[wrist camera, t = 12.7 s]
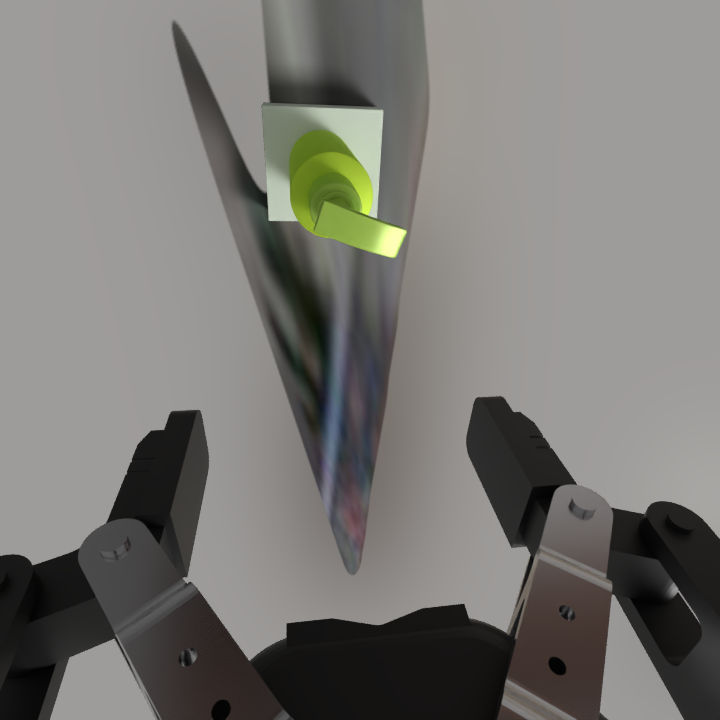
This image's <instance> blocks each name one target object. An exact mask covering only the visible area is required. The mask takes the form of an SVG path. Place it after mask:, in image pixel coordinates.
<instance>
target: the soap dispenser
mask: <svg viewBox="0 0 720 720" xmlns="http://www.w3.org/2000/svg"><path fill="white" fill-rule="evenodd" d="M289 173H290V202H291V207H292V210H293V212H294V214H295V216H296V218H297V220H298V221H299V222H300V224H301V225H302V226H303V227H304V228H305V229H307V230H308V231H310V232H311V233H313V234H315V235H317V236H320V237H325V238H332V239H334V240H337V241H340V242H343V243H345V244H348V245H351V246H354V247H357V248H360V249H363V250H366V251H369V252H372V253H376V254H379V255H383V256H387V257H391V258H395V257H396V256H397V253H398V251H399V249H400V247H401V244H402V242H403V240H404V238H405V235H406V233H407V230H405V229H403V228H402V227H400V226H397V225H394V224H391V223H388V222H385V221H382V220H379V219H376V218H374V217H371V216H368V215H369V213H370V210H371V207H372V202H373V188H372V183H371V180H370V178H369V175H368V173H367V172H366V170H365V169H364V167H363V166H362V165H361V163H360V162H359V161H358V160H357V158H356V157H355V156H354V154H353V153H352V152H351V150H350V149H349V148H348V146H347V145H346V144H345V142H344V141H343V140H342V139H341V138H340V137H339V136H337V135H336V134H334V133H332V132H329V131H325V130H314V131H310V132H308V133H306V134H304V135H303V136H301V137H300V138H299V139H298V140H297V142H296V143H295V144H294V146H293V148H292V150H291V154H290V159H289Z"/></svg>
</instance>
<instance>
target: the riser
mask: <svg viewBox="0 0 720 720" xmlns="http://www.w3.org/2000/svg"><path fill="white" fill-rule="evenodd" d="M262 118H263V134H264V150H265V166H266V181H267V197H268V213H269V221H298V220H297V218H296V216H295V214H294V212H293V210H292V207H291V202H290V173H289V159H290V154H291V150H292V148H293V146H294V144H295V143H296V142H297V140H298V139H299V138H300V137H301V136H303V135H304V134H306V133H308V132H310V131H314V130H325V131H329V132H332V133H334V134H336V135H337V136H339V137H340V138H341V139H342V140H343V141H344V142H345V144H346V145H347V146H348V148H349V149H350V150H351V152H352V153H353V154H354V156H355V157H356V158H357V160H358V161H359V162H360V163H361V165H362V166H363V167H364V169H365V170H366V172H367V173H368V175H369V178H370V180H371V183H372V188H373V202H372V207H371V210H370V213H369V215H368V216H371V217H374V218H376V219H377V206H378V190H379V173H380V157H381V140H382V124H383V110H382V109H380V108H377V107H364V106H339V105H313V104H287V103H263V104H262Z"/></svg>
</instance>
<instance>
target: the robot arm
mask: <svg viewBox="0 0 720 720" xmlns="http://www.w3.org/2000/svg"><path fill="white" fill-rule="evenodd" d="M466 438H467V439H466V444H467V451H468V455H469V457H470V459H471V462H472V464H473V466H474V468H475V470H476V472H477V474H478V477H479V479H480V481H481V483H482V485H483V488H484V489H485V492H486V494H487V496H488V498H489V500H490V503H491V505H492V507H493V509H494V511H495V513H496V515H497V518H498V520H499V522H500V524H501V526H502V528H503V530H504V533H505V535H506V537H507V539H508V541H509V543H510V545H511V547H512V548H515V547H526V546H527V548H528V550H529V552H530V557H529V560H528V563H527V566H526V569H525V573H524V576H523V580H522V583H521V587H520V590H519V594H518V597H517V601H516V604H515V608H514V611H513V615H512V618H511V621H510V624H509V627H508V630H507V633H505V632H504V631H502V630H500V629H498V628H496V627H495V626H492V625H490V624H487V623H485V622H482V621H478V620H475V619H470V618H469V617H468V615H467V611H466V608H465V605H464V604H458V605H449V606H440V607H432V608H423V609H420V610H417V611H415V612H412V613H410V614H408V615H405V616H403V617H400V618H398V619H395V620H393V621H390V622H388V623H386V624H383V625H371V624H365V623H358V622H352V621H345V620H339V619H323V620H313V621H304V622H295V623H287V638H285V639H283V640H280V641H278V642H276V643H274V644H272V645H270V646H269V647H267V648H265V649H264V650H263V651H261V652H260V653H258V654H257V655H256V656H255V657H254V658H252V659H251V660H250V661H249V660H248V658H247V657H246V656H245V654H244V653H243V652H242V650H241V649H240V647H239V646H238V645H237V643H236V642H235V641H234V639H233V638H232V636H231V635H230V633H229V632H228V631H227V629H226V628H225V626H224V625H223V624H222V622H221V621H220V619H219V618H218V617H217V615H216V614H215V612H214V611H213V610H212V608H211V607H210V605H209V604H208V603H207V601H206V600H205V598H204V597H203V596H202V594H201V593H200V591H199V590H198V589H197V587H195V585H194V584H193V583H191V582H189V583H188V584H187V583H186V582H185V581H184V580H183V577H187V575H188V571H189V566H190V560H191V555H192V550H193V545H194V540H195V535H196V530H197V525H198V520H199V515H200V510H201V505H202V500H203V495H204V490H205V485H206V480H207V475H208V468H209V455H208V447H207V441H206V436H205V431H204V425H203V419H202V414H201V411H200V410H189V411H188V410H186V411H172V412H171V413H170V415H169V418H168V421H167V424H166V426H165V430H155V431H150V433H148V435H147V436H146V437H145V438H144V439H143V440H142V441H141V442H140V443H139V444H138V445H137V448H136V450H135V453H134V455H133V458H132V462H131V463H130V465H129V468H128V470H127V475H125V478H124V481H123V483H122V485H121V488H120V490H119V493H118V496H117V498H116V501H115V503H114V506H113V508H112V510H111V513H110V516H109V518H108V520H107V522H106V524H104V525H102V526H100V527H99V528H97V529H96V530H94V531H93V532H92V533H91V534H90V535H89V536H88V537H87V538H86V539H85V540H84V542H83V544H82V545H81V547H80V548H79V549H78V550H75V551H73V552H71V553H68V554H65V555H62V556H59V557H57V558H54V559H51V560H48V561H45V562H42V563H39V564H36V565H32V564H31V562H30V561H29V560H28V559H27V558H26V557H24V556H21V555H14V554H12V555H3V556H0V720H50V717H51V714H52V711H53V707H54V704H55V701H56V698H57V695H58V692H59V688H60V685H61V682H62V679H63V676H64V672H65V669H66V666H67V663H68V660H69V657H71V656H74V655H76V654H78V653H81V652H83V651H85V650H88V649H91V648H93V647H95V646H98V645H100V644H102V643H105V642H107V641H109V640H112V639H115V641H116V643H117V645H118V647H119V649H120V651H121V653H122V655H123V657H124V658H125V661H126V663H127V664H128V666H129V668H130V670H131V672H132V674H133V676H134V678H135V680H136V682H137V684H138V686H139V688H140V690H141V692H142V693H143V696H144V698H145V699H146V701H147V703H148V705H149V707H150V709H151V712H152V714H153V716H154V718H155V720H608V719H607V718H605V717H604V716H603V715H602V714H601V713H600V702H601V694H602V684H603V674H604V665H605V655H606V646H607V636H608V626H609V617H610V607H611V606H610V605H611V597H612V594H613V595H615V596H616V598H617V600H618V601H619V604H620V605H621V607H622V609H623V611H624V613H625V614H626V616H627V618H628V620H629V622H630V623H631V625H632V627H633V629H634V630H635V632H636V634H637V636H638V638H639V639H640V641H641V643H642V645H643V647H644V648H645V650H646V652H647V654H648V656H649V657H650V659H651V661H652V663H653V664H654V666H655V668H656V670H657V672H658V673H659V675H660V677H661V679H662V681H663V682H664V684H665V686H666V688H667V690H668V691H669V693H670V695H671V697H672V698H673V700H674V702H675V704H676V705H677V707H678V709H679V711H680V713H681V715H682V717H683V718H684V720H720V539H719V538H718V537H717V535H715V533H714V532H713V531H712V529H711V528H710V527H709V526H708V525H707V524H706V523H705V522H704V521H703V519H702V518H700V517H699V516H698V515H697V514H695V513H694V512H692V511H691V510H689V509H687V508H685V507H683V506H681V505H678V504H675V503H672V502H665V501H660V502H655V503H652V504H651V505H650V506H649V507H648V509H647V511H646V512H645V514H641V513H635V512H630V511H625V510H620V509H615V508H611V507H610V506H609V504H608V503H607V502H606V501H605V499H604V498H603V497H601V496H600V495H599V494H597V493H596V492H594V491H592V490H591V489H588V488H586V487H583V486H579V485H577V484H576V482H575V481H574V479H573V478H572V477H571V475H570V474H569V472H568V471H567V469H566V468H565V467H564V465H563V464H562V462H561V461H560V460H559V458H558V456H557V455H556V454H555V452H554V451H553V449H552V448H550V445H549V444H548V442H547V441H546V439H545V438H543V435H542V433H541V432H540V430H539V429H538V428H537V426H536V425H535V423H534V422H533V421H531V420H530V419H529V418H527V417H526V416H525V415H523V414H522V413H521V412H513V411H512V410H511V408H510V406H509V405H508V403H507V402H506V400H505V399H504V398H503V397H502V396H498V397H497V396H496V397H478V398H476V399H475V401H474V404H473V409H472V414H471V419H470V423H469V428H468V432H467V437H466ZM678 591H680V592H681V594H682V595H683V596H684V598H685V600H686V601H687V603H688V604H689V605H690V607H691V608H692V610H693V611H694V613H695V614H696V616H697V617H698V620H699V622H700V623H699V622H698V620H697V619H696V618H695V616H694V615H693V613H692V612H691V610H690V609H689V607H688V606H687V604H686V603H685V601H684V600H683V599H682V597H681V596H680V594H679V593H678Z"/></svg>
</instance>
